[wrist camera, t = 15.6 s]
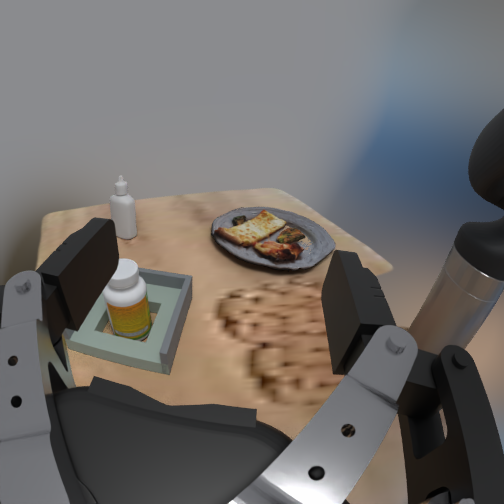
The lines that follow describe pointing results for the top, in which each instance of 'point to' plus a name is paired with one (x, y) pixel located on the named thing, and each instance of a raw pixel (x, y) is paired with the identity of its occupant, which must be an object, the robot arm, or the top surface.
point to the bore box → (162, 332)
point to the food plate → (271, 237)
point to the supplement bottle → (128, 302)
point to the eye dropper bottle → (123, 211)
